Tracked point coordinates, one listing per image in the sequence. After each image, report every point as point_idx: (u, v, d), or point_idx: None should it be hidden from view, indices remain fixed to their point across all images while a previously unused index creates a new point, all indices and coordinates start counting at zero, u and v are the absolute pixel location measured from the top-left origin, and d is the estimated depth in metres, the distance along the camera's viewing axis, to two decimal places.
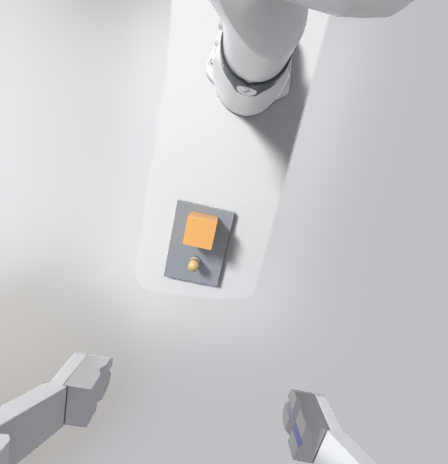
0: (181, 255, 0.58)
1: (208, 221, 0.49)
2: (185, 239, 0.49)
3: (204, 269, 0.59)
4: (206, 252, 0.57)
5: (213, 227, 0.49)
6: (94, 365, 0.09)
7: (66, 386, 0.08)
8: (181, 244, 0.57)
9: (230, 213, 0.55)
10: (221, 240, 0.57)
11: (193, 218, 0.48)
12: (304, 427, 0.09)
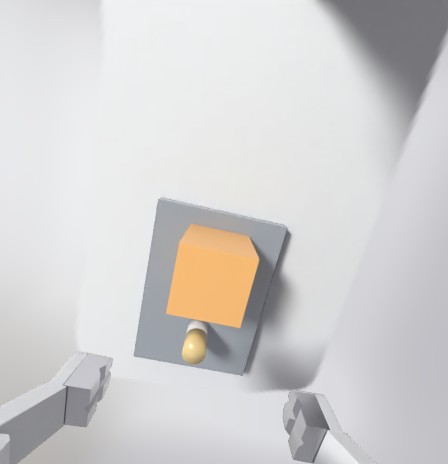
0: (169, 316, 0.27)
1: (235, 257, 0.18)
2: (174, 303, 0.19)
3: (217, 343, 0.28)
4: None
5: (248, 272, 0.18)
6: (94, 365, 0.09)
7: (66, 386, 0.08)
8: (167, 295, 0.26)
9: (277, 228, 0.25)
10: (255, 286, 0.26)
11: (194, 249, 0.18)
12: (304, 427, 0.09)
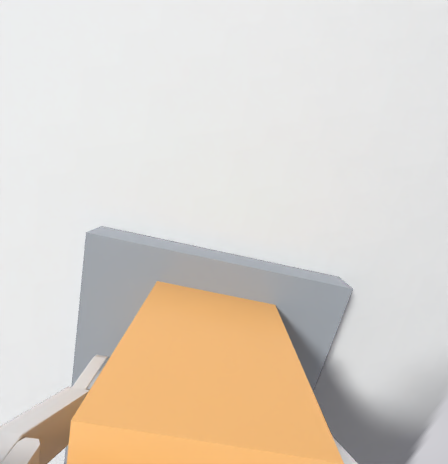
0: None
1: (264, 460, 0.05)
2: None
3: None
4: None
5: None
6: None
7: None
8: None
9: (333, 290, 0.12)
10: None
11: (126, 441, 0.05)
12: None
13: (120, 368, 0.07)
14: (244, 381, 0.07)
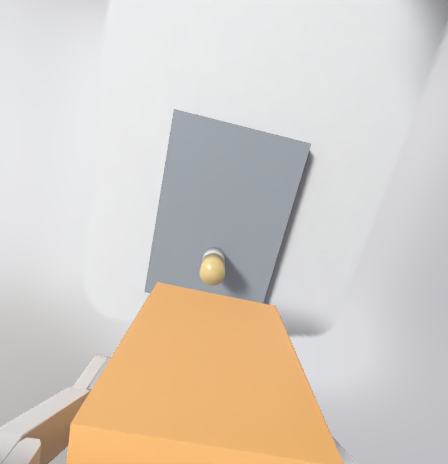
0: (183, 246, 0.25)
1: (265, 463, 0.05)
2: None
3: (234, 277, 0.26)
4: (239, 238, 0.25)
5: None
6: None
7: (90, 390, 0.08)
8: (182, 221, 0.25)
9: (301, 144, 0.23)
10: (275, 211, 0.25)
11: (125, 444, 0.05)
12: None
13: (120, 370, 0.06)
14: (244, 383, 0.07)
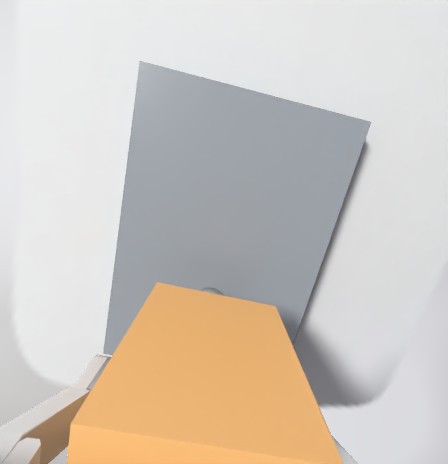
0: None
1: (265, 463, 0.05)
2: None
3: None
4: (250, 274, 0.16)
5: None
6: None
7: (90, 390, 0.08)
8: (158, 249, 0.15)
9: (354, 123, 0.14)
10: (308, 233, 0.15)
11: (125, 444, 0.05)
12: None
13: (120, 370, 0.06)
14: (244, 383, 0.07)
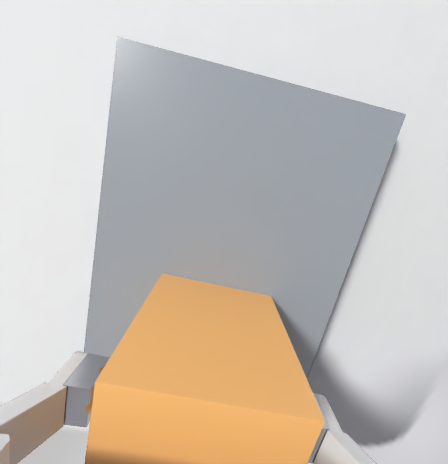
0: None
1: (258, 418, 0.06)
2: None
3: None
4: None
5: (292, 452, 0.07)
6: (94, 365, 0.09)
7: (66, 386, 0.08)
8: (143, 269, 0.13)
9: (384, 116, 0.11)
10: (326, 249, 0.13)
11: (141, 400, 0.06)
12: None
13: (133, 344, 0.07)
14: (241, 357, 0.08)
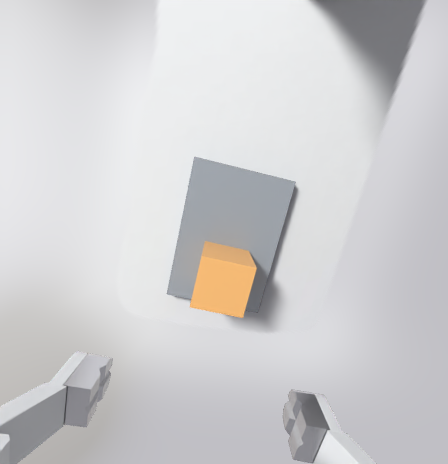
0: (198, 258, 0.33)
1: (240, 266, 0.26)
2: (196, 299, 0.26)
3: None
4: None
5: (249, 277, 0.26)
6: (94, 365, 0.09)
7: (66, 386, 0.08)
8: (197, 239, 0.32)
9: (288, 182, 0.31)
10: (269, 231, 0.32)
11: (211, 261, 0.25)
12: (304, 427, 0.09)
13: (206, 252, 0.27)
14: (236, 258, 0.27)
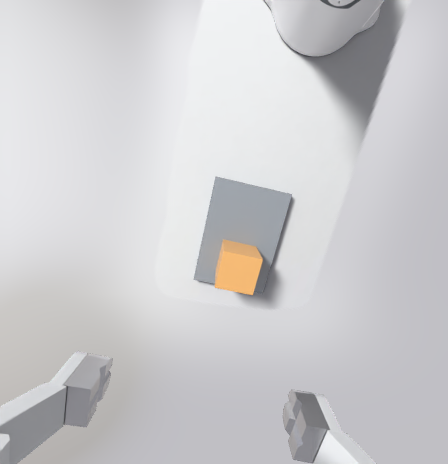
0: (217, 252, 0.43)
1: (251, 258, 0.36)
2: (219, 282, 0.37)
3: None
4: None
5: (257, 266, 0.36)
6: (94, 365, 0.09)
7: (66, 386, 0.08)
8: (217, 238, 0.42)
9: (286, 194, 0.41)
10: (272, 232, 0.42)
11: (231, 254, 0.36)
12: (304, 427, 0.09)
13: (226, 248, 0.37)
14: (247, 252, 0.38)
